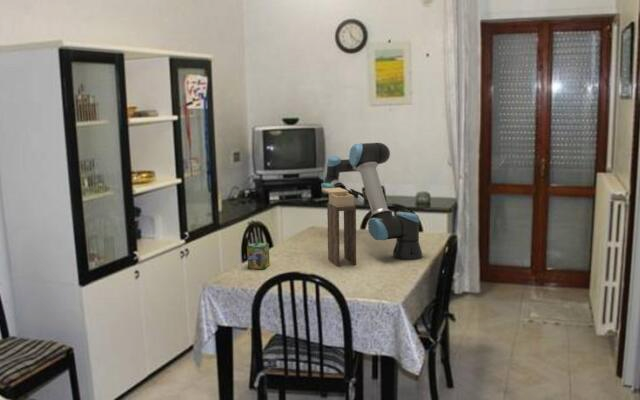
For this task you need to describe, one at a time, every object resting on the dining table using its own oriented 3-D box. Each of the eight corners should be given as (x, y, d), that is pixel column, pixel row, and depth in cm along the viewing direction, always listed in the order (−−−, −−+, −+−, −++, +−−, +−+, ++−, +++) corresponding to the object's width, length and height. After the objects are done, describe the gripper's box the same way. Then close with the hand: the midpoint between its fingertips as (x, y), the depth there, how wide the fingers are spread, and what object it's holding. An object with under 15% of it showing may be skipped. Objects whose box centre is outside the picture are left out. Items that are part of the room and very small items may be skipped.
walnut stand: (356, 265, 316) (355, 206, 311) (337, 266, 313) (336, 207, 308) (346, 257, 330) (345, 201, 325) (328, 259, 327) (327, 202, 323)
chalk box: (265, 269, 311) (264, 240, 308) (247, 269, 312) (246, 239, 310) (270, 264, 320) (269, 236, 317) (253, 264, 321) (251, 235, 319)
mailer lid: (348, 192, 320) (348, 188, 320) (329, 193, 318) (329, 189, 317) (333, 186, 344) (333, 182, 343) (315, 187, 341) (315, 183, 340)
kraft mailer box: (354, 205, 312) (354, 195, 311) (336, 206, 310) (336, 196, 309) (345, 201, 324) (345, 192, 324) (328, 202, 322) (328, 193, 321)
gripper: (356, 193, 374) (371, 206, 356) (317, 195, 365) (330, 209, 347) (358, 181, 371) (373, 194, 353) (318, 183, 362) (331, 196, 344)
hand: (352, 201), depth 350 cm, fingers open, 13 cm apart
